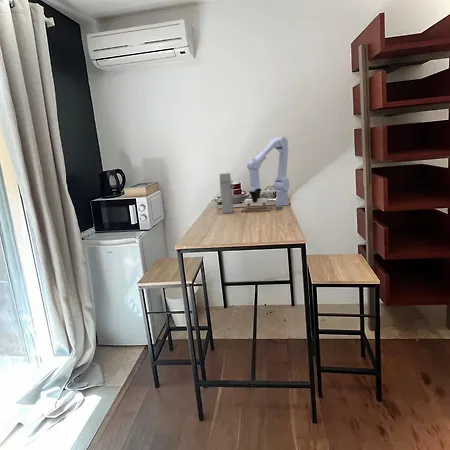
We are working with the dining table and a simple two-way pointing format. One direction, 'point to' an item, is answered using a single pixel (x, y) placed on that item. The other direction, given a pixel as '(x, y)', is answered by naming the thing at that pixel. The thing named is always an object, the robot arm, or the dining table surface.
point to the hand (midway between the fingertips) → (256, 201)
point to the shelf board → (259, 200)
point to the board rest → (279, 207)
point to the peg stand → (256, 208)
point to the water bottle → (226, 193)
